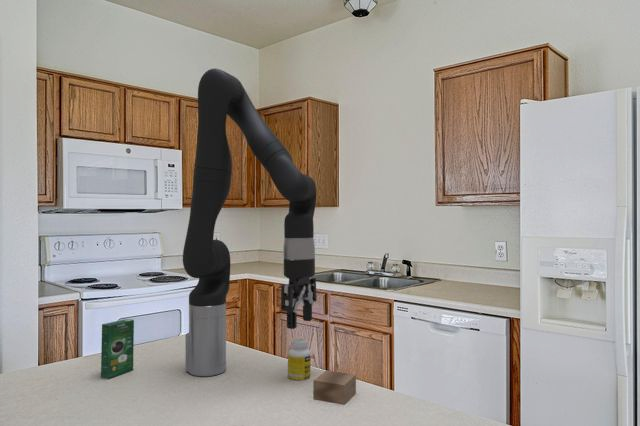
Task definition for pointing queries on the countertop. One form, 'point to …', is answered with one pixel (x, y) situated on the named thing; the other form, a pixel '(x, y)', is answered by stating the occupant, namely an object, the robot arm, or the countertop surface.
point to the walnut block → (334, 387)
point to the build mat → (337, 403)
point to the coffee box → (117, 348)
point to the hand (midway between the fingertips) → (299, 324)
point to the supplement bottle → (299, 360)
